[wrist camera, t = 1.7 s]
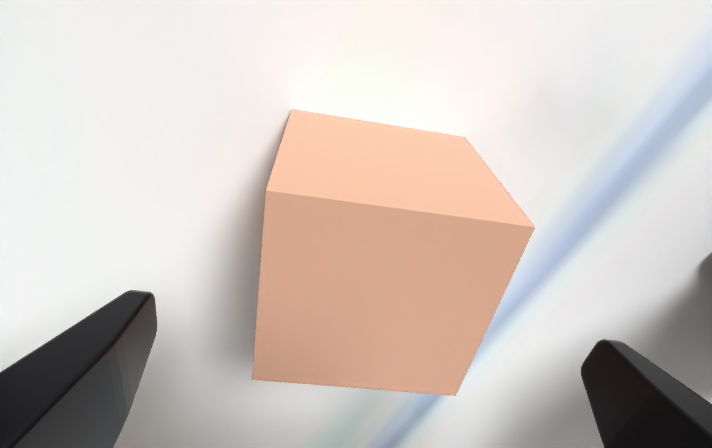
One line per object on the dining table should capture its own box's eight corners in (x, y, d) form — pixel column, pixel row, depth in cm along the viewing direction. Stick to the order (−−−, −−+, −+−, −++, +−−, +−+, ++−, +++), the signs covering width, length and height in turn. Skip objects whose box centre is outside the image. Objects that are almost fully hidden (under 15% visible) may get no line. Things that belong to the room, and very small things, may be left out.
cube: (464, 136, 12) (534, 227, 8) (420, 271, 15) (455, 395, 10) (291, 108, 11) (265, 190, 7) (277, 254, 14) (252, 379, 10)
